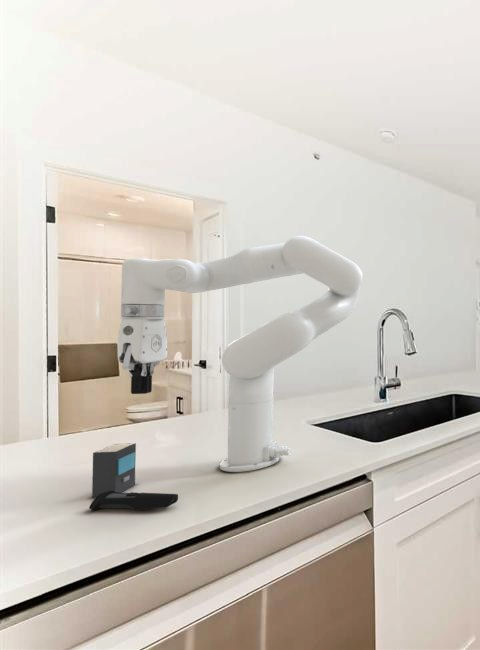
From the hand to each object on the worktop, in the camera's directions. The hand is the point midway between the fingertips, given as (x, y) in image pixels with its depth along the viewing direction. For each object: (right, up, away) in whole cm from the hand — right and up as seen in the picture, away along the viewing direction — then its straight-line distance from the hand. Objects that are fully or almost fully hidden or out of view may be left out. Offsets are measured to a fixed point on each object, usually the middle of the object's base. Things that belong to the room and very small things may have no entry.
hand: (141, 393), depth 97 cm
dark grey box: (+2, -19, -8) cm, 21 cm away
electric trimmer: (+13, -19, -16) cm, 28 cm away
